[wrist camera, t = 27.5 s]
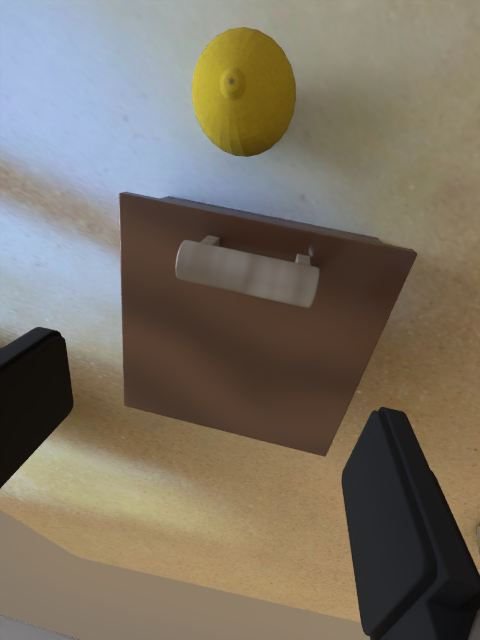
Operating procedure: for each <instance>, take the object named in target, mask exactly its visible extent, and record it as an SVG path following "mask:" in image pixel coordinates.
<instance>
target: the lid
mask: <svg viewBox="0 0 480 640" xmlns="http://www.w3.org/2000/svg"><path fill="white" fill-rule="evenodd" d="M119 221H120V258H121V296H122V334H123V371H124V405H125V406H127V407H131V408H135V409H139V410H143V411H147V412H151V413H154V414H158V415H162V416H166V417H170V418H174V419H178V420H182V421H186V422H190V423H194V424H198V425H202V426H206V427H210V428H214V429H218V430H222V431H226V432H230V433H234V434H238V435H241V436H245V437H249V438H253V439H257V440H261V441H265V442H269V443H273V444H277V445H281V446H285V447H289V448H293V449H297V450H301V451H305V452H309V453H313V454H317V455H321V456H326V455H327V452H328V450H329V448H330V446H331V444H332V441H333V439H334V437H335V435H336V433H337V430H338V428H339V426H340V424H341V422H342V419H343V417H344V415H345V413H346V411H347V408H348V406H349V404H350V402H351V399H352V397H353V395H354V393H355V391H356V388H357V386H358V384H359V382H360V380H361V377H362V375H363V373H364V371H365V369H366V366H367V364H368V362H369V360H370V358H371V355H372V353H373V351H374V349H375V346H376V344H377V342H378V340H379V338H380V335H381V333H382V331H383V329H384V327H385V324H386V322H387V320H388V318H389V316H390V313H391V311H392V309H393V307H394V305H395V302H396V300H397V298H398V296H399V293H400V291H401V289H402V287H403V285H404V282H405V280H406V278H407V276H408V274H409V271H410V269H411V267H412V265H413V263H414V260H415V258H416V256H417V253H416V252H415V251H414V250H412V249H407V248H402V247H397V246H392V245H388V244H383V243H378V242H373V241H368V240H363V239H358V238H353V237H348V236H343V235H338V234H333V233H328V232H323V231H318V230H313V229H308V228H303V227H298V226H293V225H288V224H283V223H278V222H273V221H268V220H263V219H258V218H253V217H248V216H243V215H238V214H233V213H228V212H223V211H218V210H213V209H208V208H204V207H199V206H194V205H189V204H184V203H179V202H174V201H169V200H164V199H159V198H154V197H149V196H144V195H139V194H134V193H129V192H123V193H119Z"/></svg>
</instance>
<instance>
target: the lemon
mask: <svg viewBox="0 0 480 640" xmlns="http://www.w3.org/2000/svg"><path fill="white" fill-rule="evenodd" d="M192 94H193V105H194V109H195V113H196V117H197V119H198V121H199V123H200V125H201V127H202V129H203V131H204V133H205V134H206V135H207V137H208V138H209V139H210V140H211V141H212V143H213V144H215V145H216V146H217V147H219V148H220V149H222V150H223V151H225V152H227V153H230V154H233V155H235V156H246V157H248V156H253V155H258V154H261V153H262V152H264V151H266V150H268V149H270V148H271V147H272V146H273V145H274V144H276V143H277V142H278V141H279V140H280V139H281V137H282V136H283V134H284V133H285V131H286V130H287V128H288V126H289V124H290V121H291V119H292V116H293V112H294V107H295V101H296V85H295V79H294V75H293V71H292V67H291V64H290V62H289V60H288V59H287V57H286V55H285V53H284V51H283V50H282V48H281V47H280V46H279V45H278V44H277V43H276V42H275V41H274V40H273V39H272V38H271V37H269V36H268V35H266V34H264V33H262V32H261V31H259V30H255V29H250V28H245V27H243V28H235V29H229V30H227V31H225V32H223V33H221V34H219V35H218V36H217V37H216V38H214V39H213V40H212V41H211V42H210V43H209V44H208V45H207V46H206V48H205V50H204V51H203V53H202V54H201V56H200V57H199V60H198V63H197V65H196V68H195V71H194V77H193V84H192Z"/></svg>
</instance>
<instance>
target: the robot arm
mask: <svg viewBox="0 0 480 640" xmlns="http://www.w3.org/2000/svg"><path fill="white" fill-rule="evenodd" d="M72 408H73V394H72V387H71V379H70V372H69V364H68V357H67V350H66V342H65V339H64V338H63V337H62V336H61V334H60V332H58V331H55V330H51V329H47V328H43V327H36V328H34V329H32V330H31V331H29V332H28V333H26V334H24V335H23V336H21V337H19V338H18V339H16V340H15V341H13V342H11V343H10V344H8V345H6V346H5V347H3V348H1V349H0V488H1V487H2V486H3V485H4V484H5V483H6V482H7V481H8V480H9V479H10V477H11V476H12V475H13V474H14V473H15V472H16V471H17V470H18V469H19V468H20V467H21V466H22V464H23V463H24V462H25V461H26V460H27V459H28V458H29V457H30V456H31V455H32V454H33V453H34V451H35V450H36V449H37V448H38V447H39V446H40V445H41V444H42V443H43V442H44V441H45V440H46V438H47V437H48V436H49V435H50V434H51V433H52V432H53V431H54V430H55V429H56V428H57V427H58V425H59V424H60V423H61V422H62V421H63V420H64V419H65V418H66V417H67V416H68V415H69V413H70V412H71V410H72ZM342 489H343V496H344V504H345V511H346V518H347V525H348V532H349V539H350V546H351V553H352V561H353V568H354V575H355V582H356V589H357V596H358V603H359V610H360V617H361V624H362V628H363V631H364V633H365V634H366V635H367V636H370V639H371V640H480V575H479V572H478V570H477V568H476V566H475V563H474V561H473V559H472V557H471V554H470V552H469V550H468V548H467V546H466V543H465V541H464V539H463V537H462V534H461V532H460V530H459V528H458V525H457V523H456V521H455V519H454V516H453V514H452V512H451V510H450V508H449V505H448V503H447V501H446V499H445V496H444V494H443V492H442V490H441V487H440V485H439V483H438V481H437V478H436V477H435V475H434V473H433V472H432V471H431V470H430V468H429V465H428V463H427V461H426V459H425V456H424V454H423V452H422V450H421V447H420V445H419V443H418V440H417V438H416V436H415V434H414V431H413V429H412V427H411V425H410V422H409V420H408V418H407V416H406V414H405V413H404V412H402V411H398V410H394V409H389V408H385V407H381V408H380V409H379V410H378V411H372V413H371V414H370V417H369V419H368V421H367V423H366V425H365V427H364V429H363V431H362V433H361V435H360V437H359V439H358V441H357V443H356V445H355V447H354V449H353V451H352V453H351V455H350V457H349V459H348V461H347V464H346V466H345V468H344V470H343V473H342ZM0 640H79V639H76V638H73V637H70V636H66V635H63V634H60V633H57V632H54V631H50V630H47V629H44V628H41V627H38V626H34V625H31V624H28V623H25V622H22V621H18V620H15V619H12V618H8V617H6V616H3V615H0Z"/></svg>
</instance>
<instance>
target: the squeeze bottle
mask: <svg viewBox="0 0 480 640" xmlns="http://www.w3.org/2000/svg"><path fill="white" fill-rule="evenodd" d="M476 536H477V543H478V550H479V557H480V525H479V526H478V527H477V532H476Z"/></svg>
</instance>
